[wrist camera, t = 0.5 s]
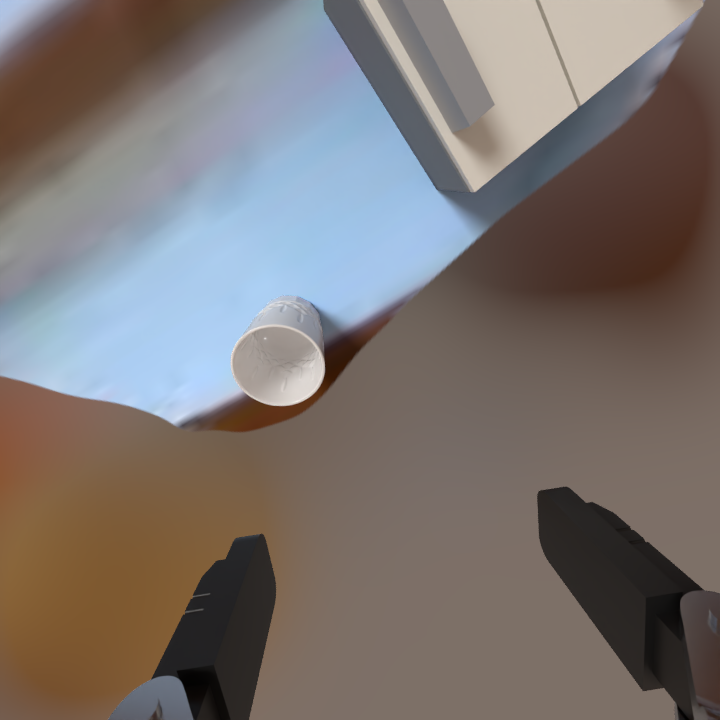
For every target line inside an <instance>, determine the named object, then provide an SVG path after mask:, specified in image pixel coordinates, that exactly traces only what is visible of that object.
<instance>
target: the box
mask: <svg viewBox="0 0 720 720" xmlns="http://www.w3.org/2000/svg"><path fill="white" fill-rule="evenodd" d="M323 2H324V11H325V12H326V14H327V15H328V17H329V18H330V20H331V22H332V23H333V25H334V26H335V28H336V30H337V31H338V33H339V34H340V36H341V38H342V39H343V41H344V42H345V44H346V46H347V47H348V49H349V50H350V52H351V54H352V55H353V57H354V58H355V60H356V62H357V63H358V65H359V66H360V68H361V70H362V71H363V73H364V74H365V76H366V78H367V79H368V81H369V82H370V84H371V86H372V87H373V89H374V90H375V92H376V94H377V95H378V97H379V98H380V100H381V102H382V103H383V105H384V106H385V108H386V110H387V111H388V113H389V114H390V116H391V117H392V119H393V121H394V122H395V124H396V125H397V127H398V129H399V130H400V132H401V133H402V135H403V137H404V138H405V140H406V141H407V143H408V145H409V146H410V148H411V149H412V151H413V153H414V154H415V156H416V157H417V159H418V161H419V162H420V164H421V165H422V167H423V169H424V170H425V172H426V173H427V175H428V177H429V178H430V180H431V181H432V183H433V185H434V186H435V188H436V189H439V190H448V191H456V192H465V193H470V190H469V188H468V186H467V185H466V183H465V181H464V180H463V178H462V176H461V174H460V173H459V171H458V169H457V168H456V166H455V164H454V162H453V161H452V159H451V157H450V156H449V154H448V152H447V150H446V149H445V147H444V145H443V144H442V142H441V140H440V138H439V137H438V135H437V133H436V132H435V130H434V128H433V126H432V125H431V123H430V121H429V120H428V118H427V116H426V114H425V113H424V111H423V109H422V108H421V106H420V104H419V102H418V101H417V99H416V97H415V96H414V94H413V92H412V90H411V89H410V87H409V85H408V84H407V82H406V80H405V78H404V77H403V75H402V73H401V72H400V70H399V68H398V66H397V65H396V63H395V61H394V60H393V58H392V56H391V54H390V53H389V51H388V49H387V48H386V46H385V44H384V42H383V41H382V39H381V37H380V36H379V34H378V32H377V30H376V29H375V27H374V25H373V24H372V22H371V20H370V18H369V17H368V15H367V13H366V12H365V10H364V8H363V6H362V5H361V3H360V1H359V0H323Z"/></svg>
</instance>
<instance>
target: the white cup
mask: <svg viewBox="0 0 720 720" xmlns="http://www.w3.org/2000/svg"><path fill="white" fill-rule="evenodd" d="M231 370H232V374H233V377H234V379H235V381H236V382H237V384H238V385H239V387H240V388H241V389H242V390H243V391H244V392H245V393H246V394H247V395H249V396H250V397H252V398H253V399H255V400H257V401H259V402H262V403H265V404H268V405H274V406H288V405H294V404H297V403H300V402H302V401H304V400H306V399H308V398H309V397H311V396H312V395H313V394H314V393H315V392H316V391H317V390H318V388H319V387H320V385H321V383H322V381H323V378H324V374H325V356H324V340H323V331H322V325H321V321H320V316H319V313H318V312H317V310H316V309H315V308H314V307H313V306H312V304H311V303H310V302H308V301H306V300H304V299H302V298H300V297H298V296H284V295H282V296H280V297H278V298H275V299H273V300H271V301H269V302H268V304H267V305H266V306H265V307H264V309H263V310H261V311H260V312H259V313H258V315H257V316H256V317H255V318H254V319H253V321H252V322H251V324H250V325H249V326H248V328H247V329H246V331H245V332H244V333H243V335H242V336H241V338H240V339H239V340H238V342H237V343H236V345H235V347H234V349H233V351H232V355H231Z"/></svg>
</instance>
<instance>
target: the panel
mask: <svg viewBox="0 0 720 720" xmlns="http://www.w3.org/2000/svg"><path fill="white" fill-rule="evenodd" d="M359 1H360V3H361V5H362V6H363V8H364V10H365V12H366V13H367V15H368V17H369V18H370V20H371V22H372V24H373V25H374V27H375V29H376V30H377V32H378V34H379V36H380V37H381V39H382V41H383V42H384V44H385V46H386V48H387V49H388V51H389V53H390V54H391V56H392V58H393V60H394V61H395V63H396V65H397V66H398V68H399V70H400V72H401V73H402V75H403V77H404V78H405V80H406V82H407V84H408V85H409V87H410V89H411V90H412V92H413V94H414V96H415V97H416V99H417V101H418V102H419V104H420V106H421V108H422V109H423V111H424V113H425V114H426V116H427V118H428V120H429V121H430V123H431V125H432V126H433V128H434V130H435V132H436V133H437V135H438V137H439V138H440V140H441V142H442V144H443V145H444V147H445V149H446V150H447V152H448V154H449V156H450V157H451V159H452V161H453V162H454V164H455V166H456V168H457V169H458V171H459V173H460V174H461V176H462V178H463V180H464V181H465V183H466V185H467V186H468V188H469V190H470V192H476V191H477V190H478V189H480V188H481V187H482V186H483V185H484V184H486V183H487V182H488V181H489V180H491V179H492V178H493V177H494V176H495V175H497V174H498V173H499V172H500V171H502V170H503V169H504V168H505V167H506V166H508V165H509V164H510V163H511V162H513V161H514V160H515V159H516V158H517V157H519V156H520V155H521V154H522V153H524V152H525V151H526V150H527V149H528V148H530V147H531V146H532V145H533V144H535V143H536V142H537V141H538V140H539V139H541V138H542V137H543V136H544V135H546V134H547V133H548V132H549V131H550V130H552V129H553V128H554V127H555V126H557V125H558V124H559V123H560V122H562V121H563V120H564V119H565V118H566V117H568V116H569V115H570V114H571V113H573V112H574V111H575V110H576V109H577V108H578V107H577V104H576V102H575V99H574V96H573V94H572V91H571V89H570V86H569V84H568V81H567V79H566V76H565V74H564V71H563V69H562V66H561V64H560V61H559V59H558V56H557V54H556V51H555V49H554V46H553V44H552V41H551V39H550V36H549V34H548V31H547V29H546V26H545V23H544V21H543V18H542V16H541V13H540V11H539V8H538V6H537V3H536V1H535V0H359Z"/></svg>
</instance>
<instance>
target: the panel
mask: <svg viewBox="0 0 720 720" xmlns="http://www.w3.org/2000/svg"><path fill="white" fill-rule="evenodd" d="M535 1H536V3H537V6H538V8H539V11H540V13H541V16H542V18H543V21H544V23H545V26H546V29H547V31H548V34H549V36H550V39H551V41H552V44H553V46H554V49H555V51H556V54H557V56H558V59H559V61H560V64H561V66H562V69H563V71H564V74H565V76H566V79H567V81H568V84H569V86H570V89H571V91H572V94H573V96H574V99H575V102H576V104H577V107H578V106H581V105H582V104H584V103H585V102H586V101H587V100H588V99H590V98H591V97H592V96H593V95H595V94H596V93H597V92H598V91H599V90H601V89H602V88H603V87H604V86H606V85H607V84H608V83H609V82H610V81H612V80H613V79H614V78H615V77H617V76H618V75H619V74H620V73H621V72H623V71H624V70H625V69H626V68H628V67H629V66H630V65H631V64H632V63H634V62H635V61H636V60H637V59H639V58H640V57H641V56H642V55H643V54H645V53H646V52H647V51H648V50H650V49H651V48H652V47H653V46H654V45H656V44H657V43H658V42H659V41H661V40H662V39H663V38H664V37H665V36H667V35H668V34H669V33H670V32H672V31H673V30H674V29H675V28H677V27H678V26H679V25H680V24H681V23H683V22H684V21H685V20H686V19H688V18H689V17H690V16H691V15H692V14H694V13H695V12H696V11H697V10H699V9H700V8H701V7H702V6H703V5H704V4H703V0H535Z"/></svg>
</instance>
